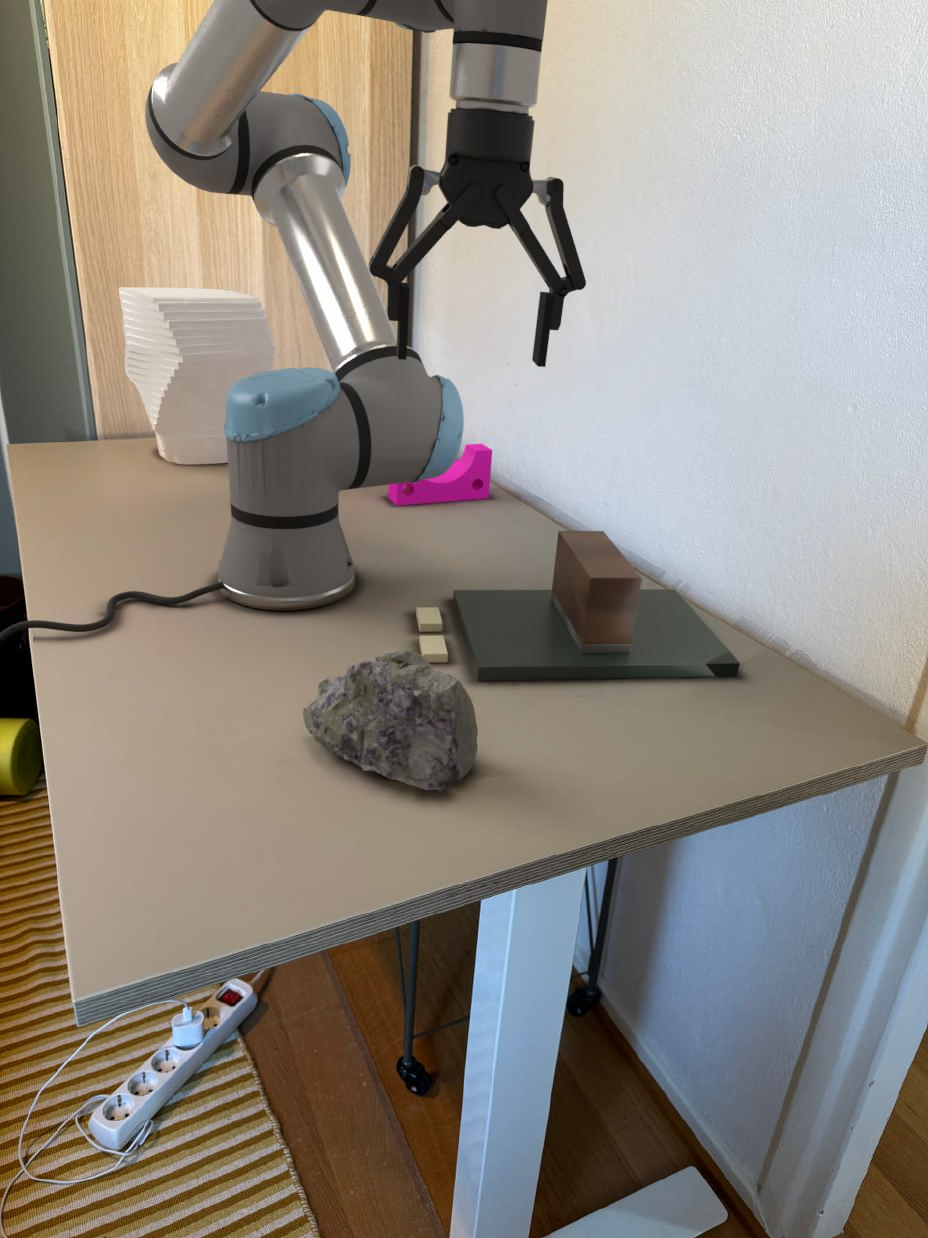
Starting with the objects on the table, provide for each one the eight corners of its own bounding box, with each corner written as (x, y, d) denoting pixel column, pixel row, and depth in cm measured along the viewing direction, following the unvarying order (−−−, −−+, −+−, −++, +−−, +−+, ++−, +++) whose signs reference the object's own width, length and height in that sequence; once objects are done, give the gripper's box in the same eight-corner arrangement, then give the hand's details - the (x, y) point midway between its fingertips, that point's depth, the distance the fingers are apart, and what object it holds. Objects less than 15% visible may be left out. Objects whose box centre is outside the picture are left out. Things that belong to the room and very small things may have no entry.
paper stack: (129, 444, 149) (112, 283, 138) (284, 436, 160) (280, 287, 149) (146, 478, 132) (128, 299, 121) (319, 467, 143) (316, 301, 132)
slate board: (737, 676, 86) (740, 663, 85) (477, 681, 82) (478, 667, 81) (673, 600, 102) (675, 589, 101) (452, 601, 98) (453, 589, 97)
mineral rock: (296, 735, 72) (293, 625, 68) (407, 702, 78) (411, 599, 73) (373, 821, 62) (375, 700, 58) (494, 777, 68) (504, 664, 64)
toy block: (471, 486, 139) (474, 439, 135) (488, 498, 134) (492, 449, 130) (382, 492, 133) (383, 444, 130) (396, 505, 128) (398, 455, 124)
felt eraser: (630, 652, 86) (642, 577, 82) (580, 653, 85) (590, 577, 82) (594, 598, 97) (603, 530, 94) (550, 598, 97) (558, 530, 93)
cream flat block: (423, 653, 84) (423, 663, 84) (448, 653, 84) (447, 662, 85) (419, 635, 88) (419, 644, 88) (443, 635, 88) (442, 643, 88)
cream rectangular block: (419, 623, 90) (419, 632, 90) (442, 623, 90) (442, 631, 91) (416, 607, 94) (415, 615, 94) (438, 607, 94) (438, 615, 94)
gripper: (618, 122, 80) (584, 357, 90) (344, 94, 76) (341, 344, 86) (644, 122, 74) (604, 375, 84) (346, 92, 70) (342, 362, 80)
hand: (470, 360), depth 85 cm, fingers open, 13 cm apart
